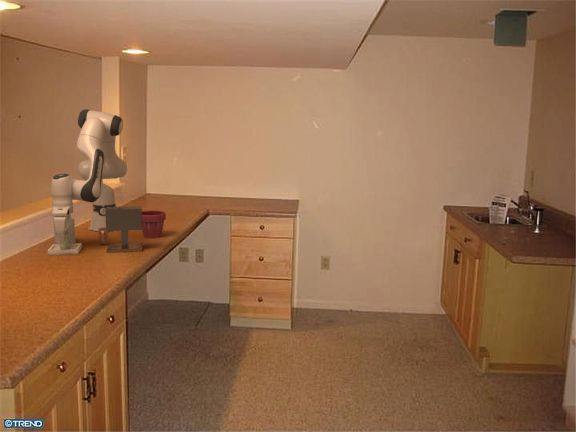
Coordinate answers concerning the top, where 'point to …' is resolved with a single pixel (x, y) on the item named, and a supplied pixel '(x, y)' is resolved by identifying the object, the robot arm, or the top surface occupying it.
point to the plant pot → (153, 223)
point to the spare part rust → (103, 236)
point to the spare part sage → (65, 242)
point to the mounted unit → (124, 226)
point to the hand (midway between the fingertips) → (64, 238)
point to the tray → (56, 249)
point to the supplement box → (71, 229)
